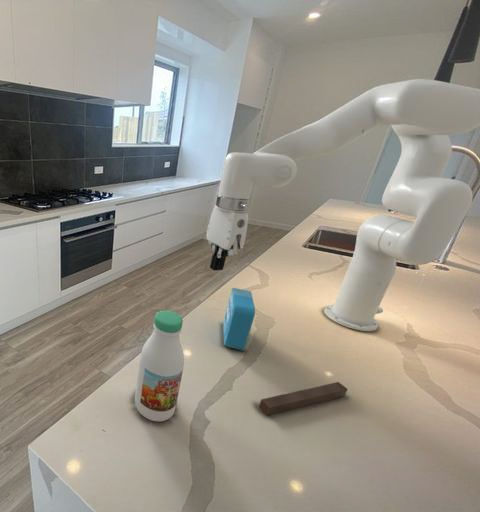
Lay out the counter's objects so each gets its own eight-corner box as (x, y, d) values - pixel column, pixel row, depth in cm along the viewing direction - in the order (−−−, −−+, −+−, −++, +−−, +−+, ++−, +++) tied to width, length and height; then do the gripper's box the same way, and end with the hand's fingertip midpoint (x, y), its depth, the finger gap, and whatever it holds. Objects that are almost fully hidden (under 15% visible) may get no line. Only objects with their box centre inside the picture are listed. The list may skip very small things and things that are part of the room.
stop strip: (335, 388, 63) (338, 381, 63) (344, 396, 62) (348, 389, 61) (258, 406, 58) (261, 399, 57) (266, 415, 56) (269, 407, 56)
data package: (222, 323, 84) (232, 285, 80) (240, 326, 83) (250, 289, 79) (224, 348, 74) (234, 307, 69) (243, 353, 73) (256, 311, 68)
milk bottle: (125, 404, 57) (136, 315, 50) (149, 383, 62) (162, 300, 55) (159, 431, 52) (176, 337, 45) (182, 406, 57) (201, 318, 50)
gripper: (266, 210, 70) (246, 280, 77) (224, 197, 84) (211, 258, 90) (239, 210, 68) (222, 282, 75) (201, 197, 81) (189, 259, 88)
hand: (216, 268), depth 83 cm, fingers closed
